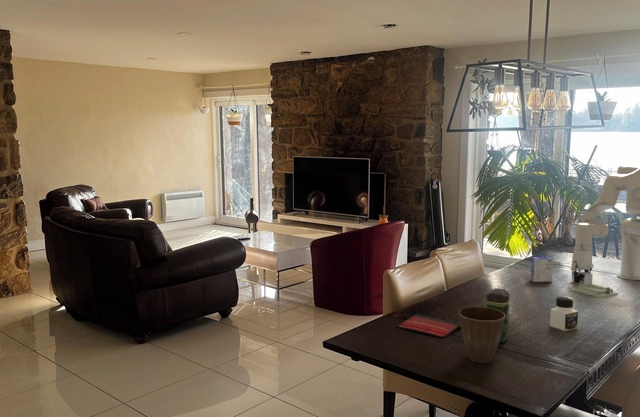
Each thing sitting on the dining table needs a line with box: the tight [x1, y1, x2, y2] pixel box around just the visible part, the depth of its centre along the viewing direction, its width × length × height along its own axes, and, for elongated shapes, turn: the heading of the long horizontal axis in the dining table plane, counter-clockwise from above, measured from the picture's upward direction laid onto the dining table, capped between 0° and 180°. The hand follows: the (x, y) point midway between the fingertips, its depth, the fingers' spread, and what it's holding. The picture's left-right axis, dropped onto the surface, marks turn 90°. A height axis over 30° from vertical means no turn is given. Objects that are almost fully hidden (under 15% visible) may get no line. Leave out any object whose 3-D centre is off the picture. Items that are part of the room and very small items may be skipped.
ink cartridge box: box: [530, 252, 554, 283], centre depth 290 cm, size 10×6×14 cm, turn 89°
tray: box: [570, 281, 619, 299], centre depth 268 cm, size 12×16×4 cm
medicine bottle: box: [549, 295, 579, 332], centre depth 218 cm, size 7×7×12 cm
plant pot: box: [458, 306, 505, 364], centre depth 187 cm, size 15×15×16 cm
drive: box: [570, 270, 594, 285], centre depth 284 cm, size 4×9×6 cm, turn 27°
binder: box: [397, 313, 461, 339], centre depth 220 cm, size 16×2×21 cm
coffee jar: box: [485, 288, 510, 343], centre depth 206 cm, size 10×8×19 cm
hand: (581, 281), depth 284 cm, fingers open, 6 cm apart
